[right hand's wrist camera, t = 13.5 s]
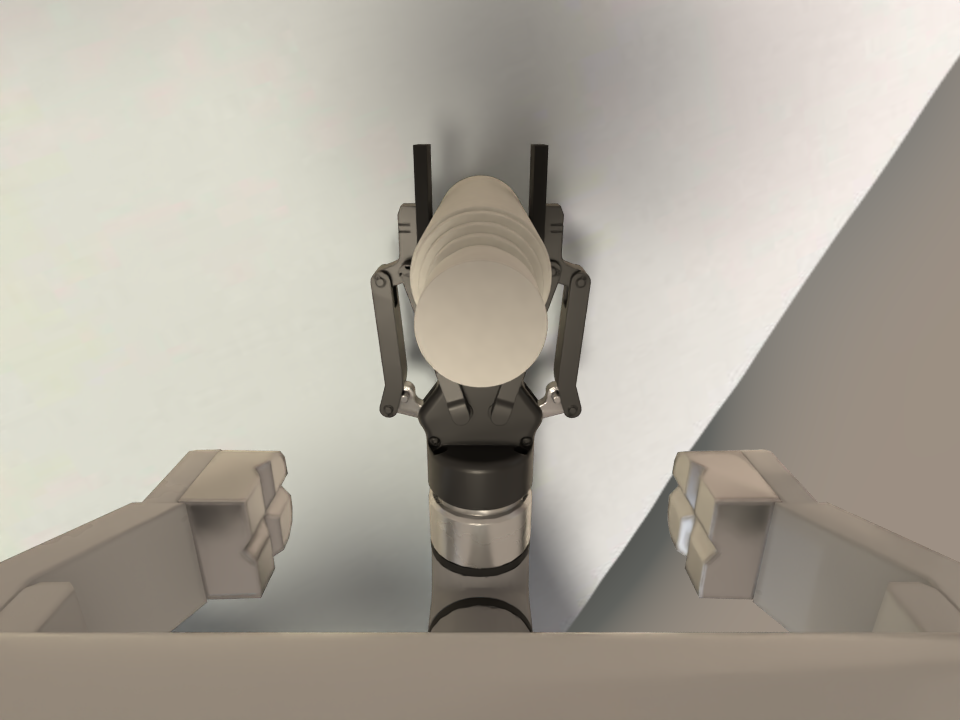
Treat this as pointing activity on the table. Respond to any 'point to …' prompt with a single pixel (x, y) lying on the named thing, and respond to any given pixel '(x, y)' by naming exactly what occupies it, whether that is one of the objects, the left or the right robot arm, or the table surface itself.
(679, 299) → the table surface
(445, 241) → the bottle
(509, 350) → the cap
